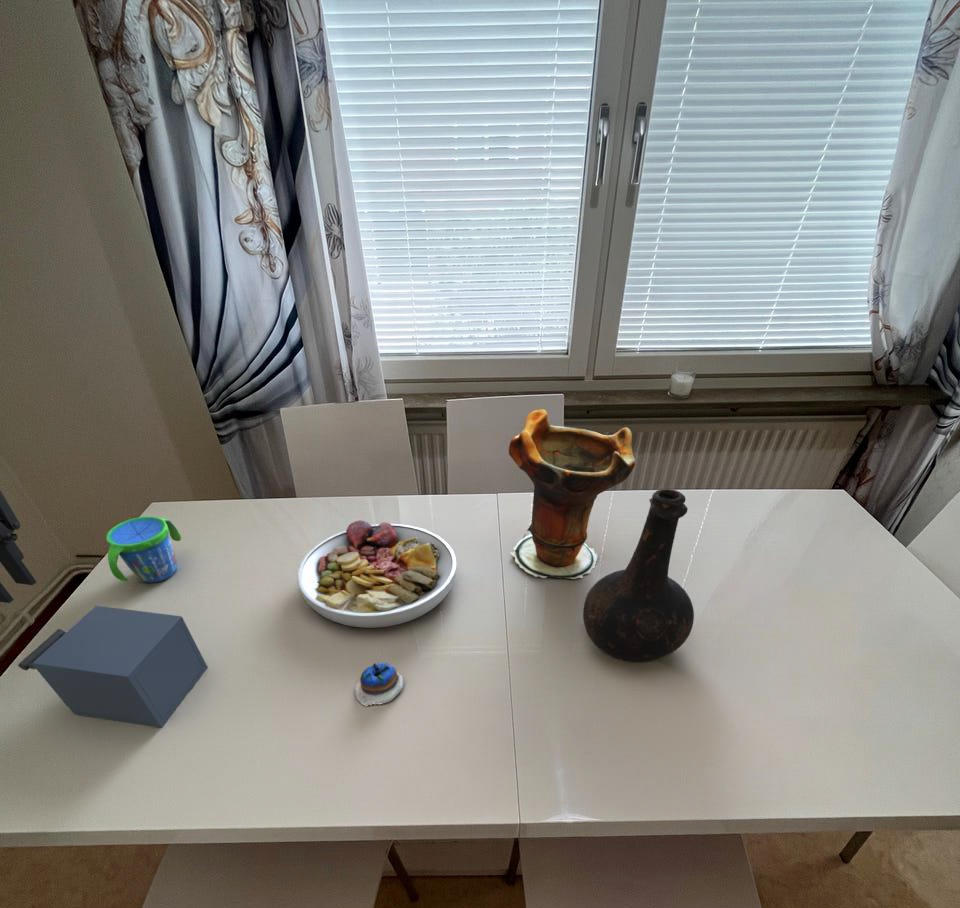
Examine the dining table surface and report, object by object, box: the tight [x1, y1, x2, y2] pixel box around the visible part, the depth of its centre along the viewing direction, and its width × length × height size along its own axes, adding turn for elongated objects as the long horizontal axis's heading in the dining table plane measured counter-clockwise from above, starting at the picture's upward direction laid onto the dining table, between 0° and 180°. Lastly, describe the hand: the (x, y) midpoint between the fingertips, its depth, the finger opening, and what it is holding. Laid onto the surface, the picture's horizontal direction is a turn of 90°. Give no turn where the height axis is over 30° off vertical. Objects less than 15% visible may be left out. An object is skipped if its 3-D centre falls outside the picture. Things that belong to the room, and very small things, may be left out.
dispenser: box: [32, 605, 209, 729], centre depth 81 cm, size 15×13×11 cm
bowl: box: [296, 520, 457, 629], centre depth 102 cm, size 30×30×8 cm
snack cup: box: [105, 515, 182, 584], centre depth 105 cm, size 16×10×10 cm
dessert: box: [354, 662, 404, 706], centre depth 85 cm, size 8×7×6 cm
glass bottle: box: [582, 488, 695, 664], centre depth 84 cm, size 18×18×28 cm
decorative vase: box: [508, 408, 636, 580], centre depth 103 cm, size 21×23×28 cm
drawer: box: [17, 628, 67, 704], centre depth 82 cm, size 20×12×9 cm, turn 80°
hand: (14, 591), depth 74 cm, fingers open, 3 cm apart
